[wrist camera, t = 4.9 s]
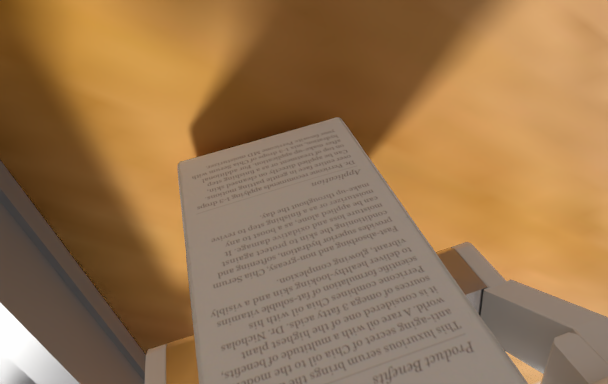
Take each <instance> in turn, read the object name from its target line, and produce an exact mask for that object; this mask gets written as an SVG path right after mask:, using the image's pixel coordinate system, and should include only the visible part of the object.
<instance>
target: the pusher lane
mask: <svg viewBox="0 0 608 384" xmlns="http://www.w3.org/2000/svg"><path fill="white" fill-rule="evenodd" d="M145 360H146V355H145V353H144V352H143V351H142V349H141V348H140V347H139V345H138V344H137V343H136V341H135V340H134V339H133V337H132V336H131V335H130V333H129V332H128V331H127V329H126V328H125V327H124V325H123V324H122V323H121V321H120V320H119V319H118V317H117V316H116V315H115V313H114V312H113V310H112V309H111V308H110V306H109V305H108V304H107V302H106V301H105V300H104V298H103V297H102V296H101V294H100V293H99V292H98V290H97V289H96V288H95V286H94V285H93V284H92V282H91V281H90V280H89V278H88V277H87V276H86V274H85V273H84V272H83V270H82V269H81V268H80V266H79V265H78V264H77V262H76V261H75V260H74V258H73V257H72V256H71V254H70V253H69V251H68V250H67V249H66V247H65V246H64V245H63V243H62V242H61V241H60V239H59V238H58V237H57V235H56V234H55V233H54V231H53V230H52V229H51V227H50V226H49V225H48V223H47V222H46V221H45V219H44V218H43V217H42V215H41V214H40V213H39V211H38V210H37V209H36V207H35V206H34V205H33V203H32V202H31V201H30V199H29V198H28V196H27V195H26V194H25V192H24V191H23V190H22V188H21V187H20V186H19V184H18V183H17V182H16V180H15V179H14V178H13V176H12V175H11V174H10V172H9V171H8V170H7V168H6V167H5V166H4V164H3V163H2V162H1V160H0V384H144V383H145Z"/></svg>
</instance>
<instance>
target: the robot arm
mask: <svg viewBox="0 0 608 384" xmlns="http://www.w3.org/2000/svg"><path fill="white" fill-rule="evenodd" d="M436 254H437V255H438V256H439V258H440V259H441V261H442V262H443V264H444V265H445V267H446V268H447V270H448V271H449V273H450V274H451V275H452V277H453V278H454V280H455V281H456V282H457V284H458V285H459V287H460V288H461V289H462V291H463V292H464V294H465V295H466V297H467V298H468V300H469V301H470V302H471V304H472V305H473V307H474V308H475V310H476V311H477V312H478V314H479V315H480V317H481V318H482V320H483V321H484V322H485V324H486V325H487V326H488V328H489V329H490V331H491V332H492V333H493V335H494V336H495V337H496V339H497V341H498V342H499V344H500V345H501V347H502V348H503V350H505V351H506V352H508V353H510V354H511V355H513V356H515V357H516V358H518V359H520V360H521V361H523V362H525V363H526V364H528V365H530V366H531V367H533V368H535V369H536V370H538V371H540V372H541V373H543V377H542V380H541V384H608V318H607V317H606V316H603V315H600V314H598V313H595V312H593V311H590V310H588V309H585V308H583V307H580V306H577V305H575V304H572V303H570V302H567V301H565V300H562V299H560V298H557V297H554V296H552V295H549V294H547V293H544V292H542V291H539V290H537V289H534V288H531V287H529V286H526V285H524V284H521V283H519V282H516V281H514V280H509V281H506V280H505V279H504V278H503V277H502V276H501V275H500V274H499V273H498V271H497V270H496V269H495V268H494V267H493V266H492V265H491V264H490V263H489V262H488V261H487V260H486V259H485V258H484V257H483V255H482V254H481V253H480V252H479V251H478V250H477V249H476V248H475V247H474V246H473V245H472V244H471V243H469V242H465V243H462V244H459V245H456V246H453V247H451V248H447V249H444V250H441V251H438V252H436ZM144 384H199V378H198V368H197V359H196V349H195V338H194V335H192V336H189V337H185V338H182V339H179V340H176V341H173V342H169V343H166V344H163V345H160V346H157V347H154V348H151V349H148V351H147V354H146V360H145V383H144Z"/></svg>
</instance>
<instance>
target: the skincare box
mask: <svg viewBox="0 0 608 384" xmlns="http://www.w3.org/2000/svg"><path fill="white" fill-rule="evenodd" d="M178 180H179V190H180V199H181V207H182V218H183V228H184V237H185V246H186V258H187V270H188V280H189V290H190V300H191V310H192V320H193V329H194V338H195V349H196V359H197V368H198V378H199V384H528V383H527V382H526V380H525V379H524V377H523V376H522V374H521V373H520V372H519V370H518V369H517V367H516V366H515V364H514V363H513V362H512V360H511V359H510V358H509V356H508V355H507V354H506V352H505V351H504V350H503V348H502V347H501V345H500V344H499V342H498V341H497V339H496V337H495V336H494V335H493V333H492V332H491V331H490V329H489V328H488V326H487V325H486V324H485V322H484V321H483V320H482V318H481V317H480V315H479V314H478V312H477V311H476V310H475V308H474V307H473V305H472V304H471V302H470V301H469V300H468V298H467V297H466V295H465V294H464V292H463V291H462V289H461V288H460V287H459V285H458V284H457V282H456V281H455V280H454V278H453V277H452V275H451V274H450V273H449V271H448V270H447V268H446V267H445V265H444V264H443V262H442V261H441V259H440V258H439V256H438V255H437V254H436V252H435V251H434V250H433V248H432V247H431V245H430V244H429V243H428V241H427V240H426V238H425V237H424V236H423V234H422V233H421V231H420V230H419V228H418V227H417V226H416V224H415V223H414V221H413V220H412V218H411V217H410V216H409V214H408V213H407V211H406V210H405V208H404V207H403V205H402V204H401V203H400V201H399V200H398V198H397V197H396V195H395V194H394V192H393V191H392V190H391V188H390V187H389V185H388V184H387V182H386V181H385V180H384V178H383V177H382V175H381V174H380V172H379V171H378V170H377V168H376V167H375V165H374V164H373V163H372V161H371V160H370V158H369V157H368V155H367V154H366V153H365V151H364V150H363V148H362V147H361V145H360V144H359V142H358V141H357V140H356V138H355V137H354V135H353V134H352V133H351V131H350V130H349V128H348V127H347V126H346V124H345V123H344V122H343V121H342V119H341V118H339V117H335V118H332V119H329V120H326V121H322V122H319V123H315V124H312V125H308V126H305V127H301V128H298V129H294V130H291V131H287V132H284V133H280V134H277V135H273V136H270V137H266V138H263V139H259V140H256V141H253V142H249V143H245V144H242V145H238V146H235V147H231V148H228V149H224V150H221V151H217V152H213V153H210V154H207V155H203V156H200V157H196V158H193V159H189V160H185V161H181V162H179V164H178Z"/></svg>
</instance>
